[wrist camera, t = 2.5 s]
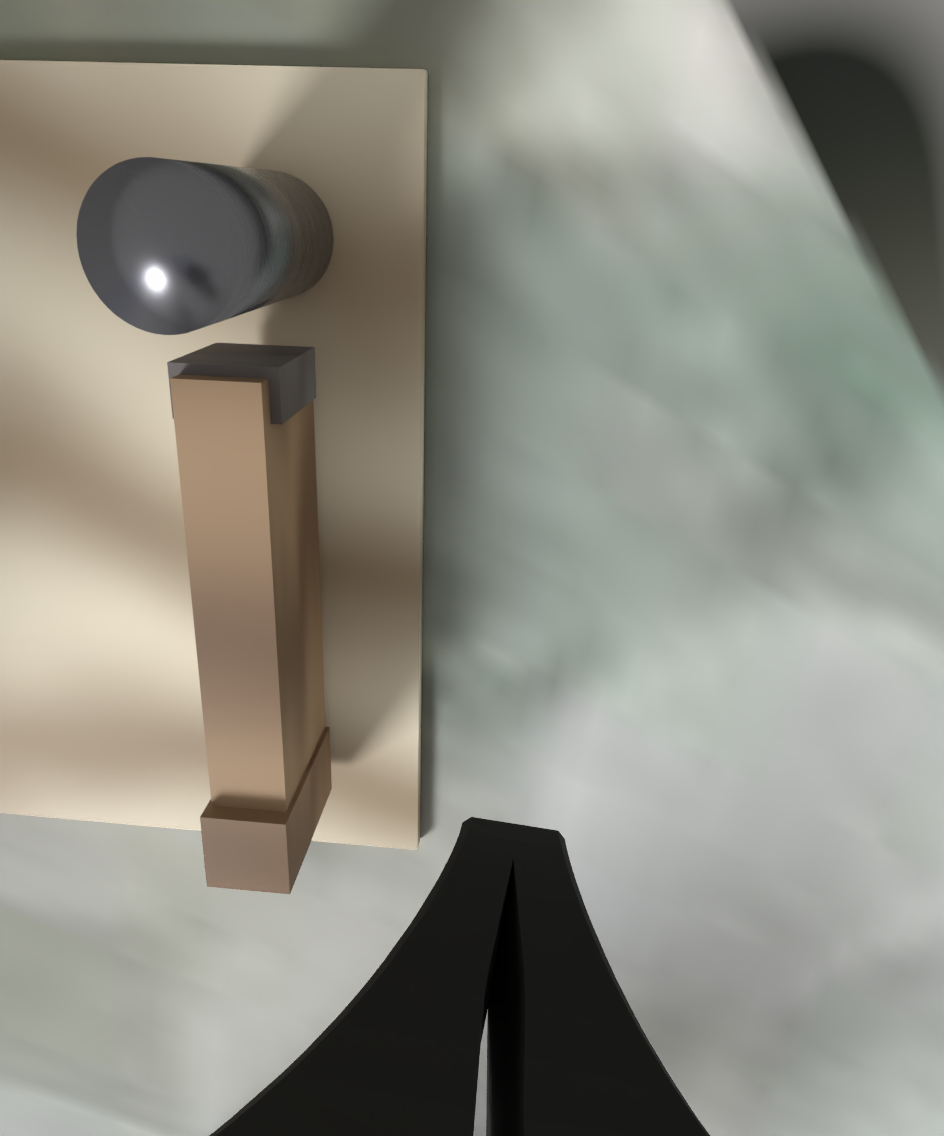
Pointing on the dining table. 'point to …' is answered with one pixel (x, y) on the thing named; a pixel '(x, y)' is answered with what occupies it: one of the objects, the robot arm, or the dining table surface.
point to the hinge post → (199, 241)
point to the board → (149, 452)
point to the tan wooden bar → (255, 603)
